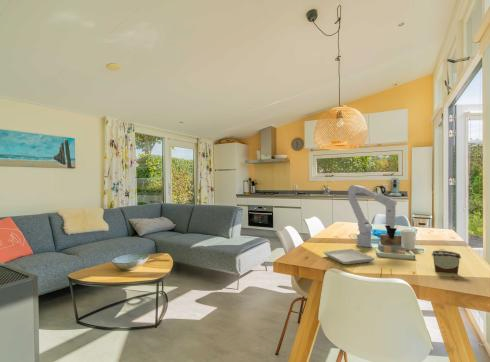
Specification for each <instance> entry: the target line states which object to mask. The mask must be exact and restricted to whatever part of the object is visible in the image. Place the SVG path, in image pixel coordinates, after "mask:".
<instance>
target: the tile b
mask: <svg viewBox="0 0 490 362" xmlns="http://www.w3.org/2000/svg"><path fill="white" fill-rule="evenodd" d="M405 253H406V250H405V251H403V250H397V254H405Z"/></svg>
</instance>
